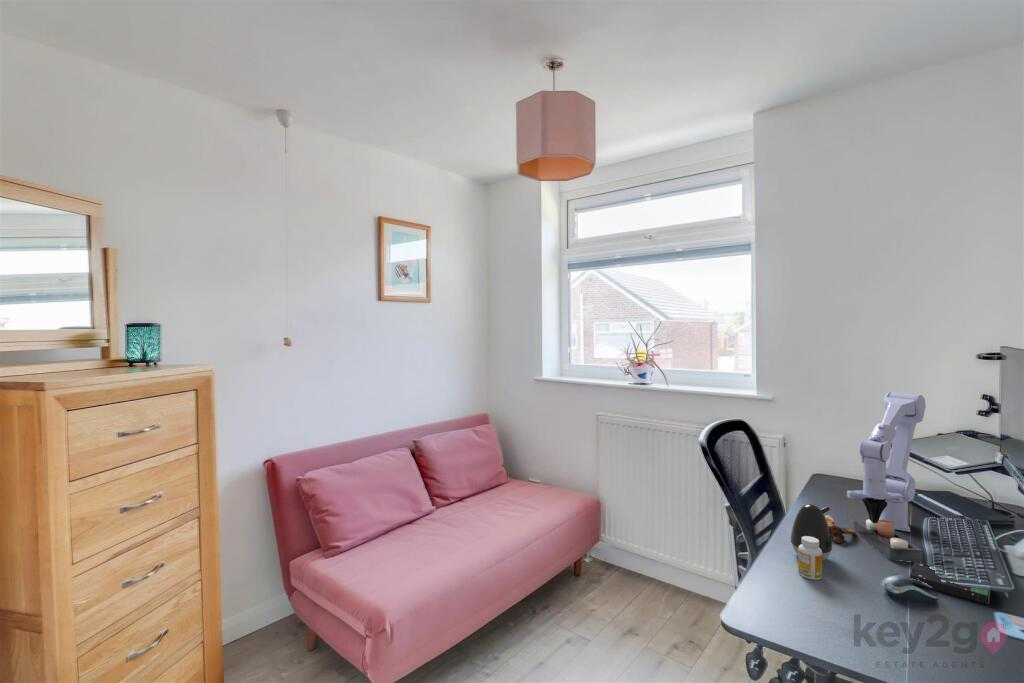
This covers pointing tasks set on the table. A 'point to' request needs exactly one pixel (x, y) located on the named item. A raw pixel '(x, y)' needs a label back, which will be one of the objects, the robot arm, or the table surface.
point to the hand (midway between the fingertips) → (873, 522)
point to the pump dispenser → (812, 528)
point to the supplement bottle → (810, 558)
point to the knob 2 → (898, 543)
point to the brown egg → (886, 528)
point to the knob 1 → (871, 524)
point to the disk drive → (947, 584)
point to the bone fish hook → (837, 530)
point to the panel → (888, 543)
